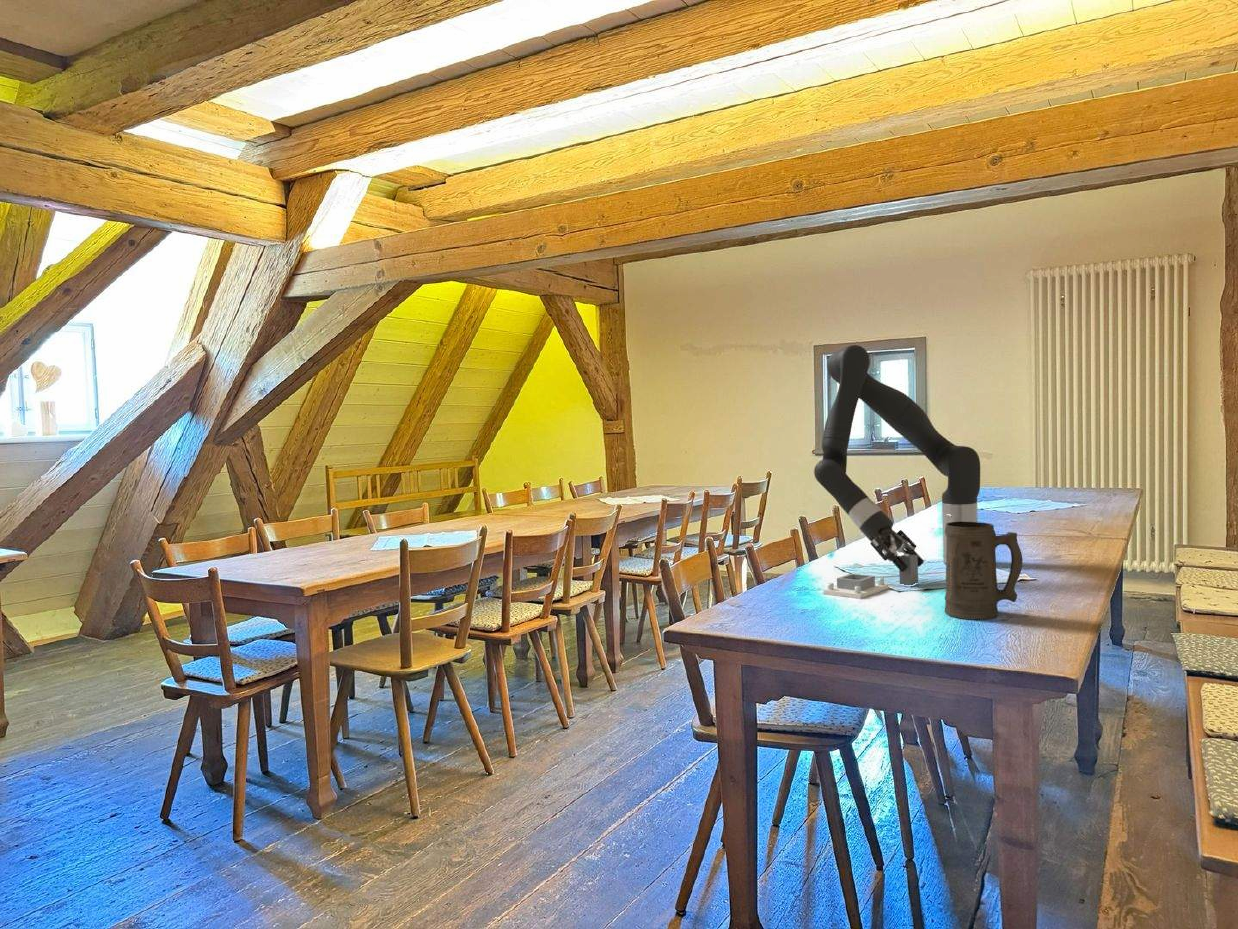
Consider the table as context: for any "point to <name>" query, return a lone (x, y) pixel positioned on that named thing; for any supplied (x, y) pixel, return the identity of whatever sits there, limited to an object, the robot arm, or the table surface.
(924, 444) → the robot arm
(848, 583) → the plate
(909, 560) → the block
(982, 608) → the beer stein
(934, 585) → the table surface
